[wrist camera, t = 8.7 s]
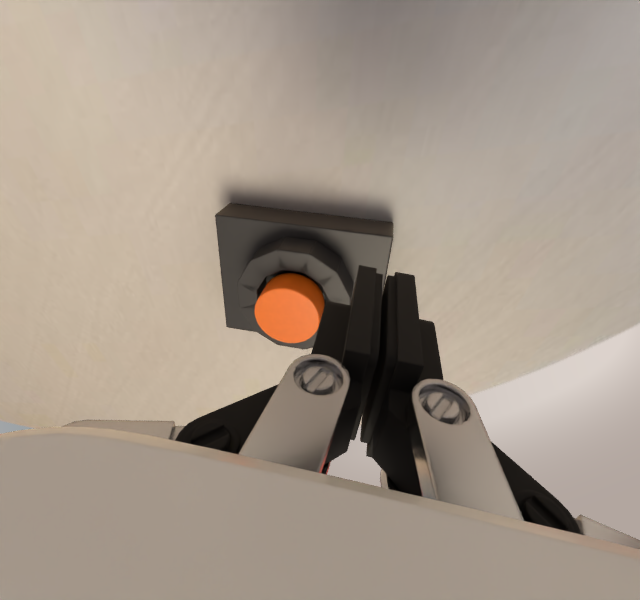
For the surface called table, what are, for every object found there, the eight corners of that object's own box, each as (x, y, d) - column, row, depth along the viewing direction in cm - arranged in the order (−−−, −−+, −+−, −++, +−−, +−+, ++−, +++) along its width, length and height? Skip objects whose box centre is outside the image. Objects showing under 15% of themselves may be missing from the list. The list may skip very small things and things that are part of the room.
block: (393, 222, 21) (393, 250, 18) (374, 330, 25) (370, 370, 22) (229, 202, 22) (200, 226, 19) (237, 309, 27) (215, 344, 23)
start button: (327, 276, 20) (321, 293, 18) (322, 329, 22) (317, 348, 20) (262, 268, 20) (252, 283, 19) (264, 320, 22) (255, 338, 21)
